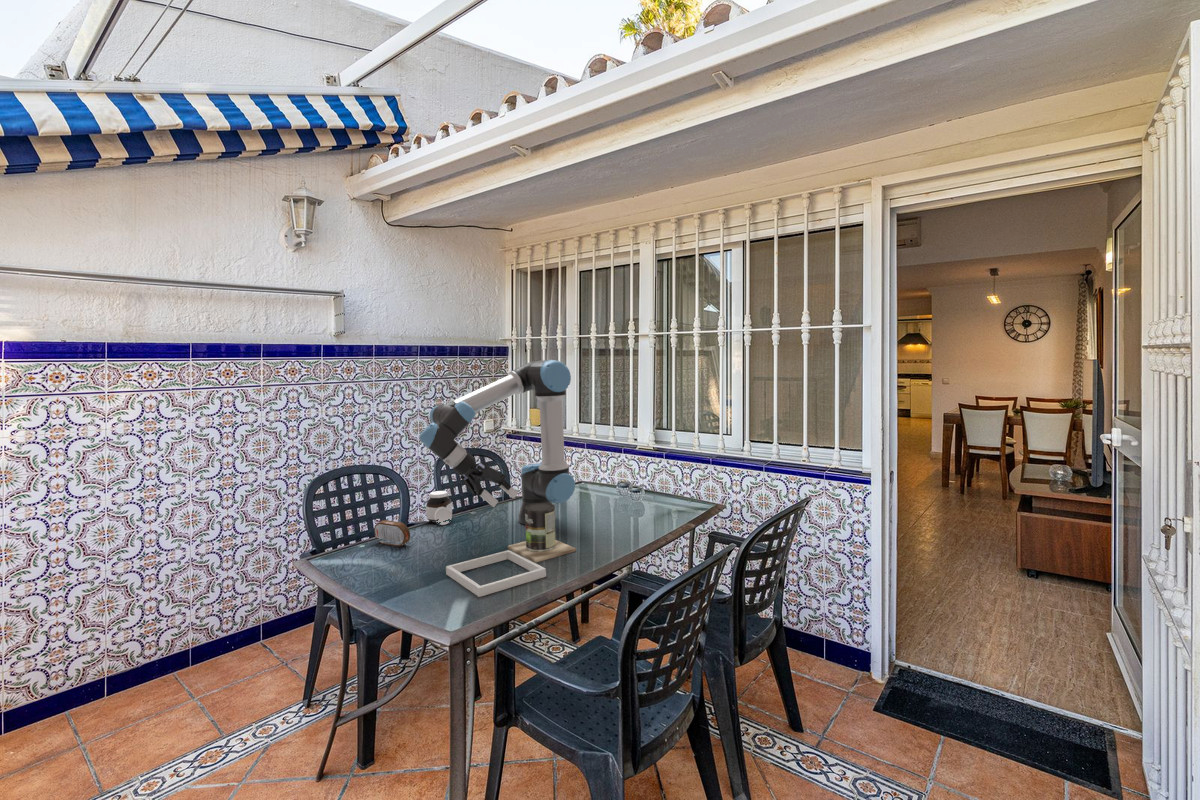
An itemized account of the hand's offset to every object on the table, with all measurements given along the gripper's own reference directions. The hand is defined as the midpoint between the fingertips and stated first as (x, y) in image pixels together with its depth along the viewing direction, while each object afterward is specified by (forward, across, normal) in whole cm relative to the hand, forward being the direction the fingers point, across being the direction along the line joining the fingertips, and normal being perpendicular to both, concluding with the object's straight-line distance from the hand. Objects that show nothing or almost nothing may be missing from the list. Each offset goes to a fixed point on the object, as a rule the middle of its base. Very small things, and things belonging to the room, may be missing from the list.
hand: (505, 499), depth 196 cm
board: (+19, +4, -8) cm, 21 cm away
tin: (-15, -36, -23) cm, 46 cm away
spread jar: (-3, -48, 0) cm, 48 cm away
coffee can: (+19, +4, -7) cm, 21 cm away
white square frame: (+7, +12, -28) cm, 31 cm away
